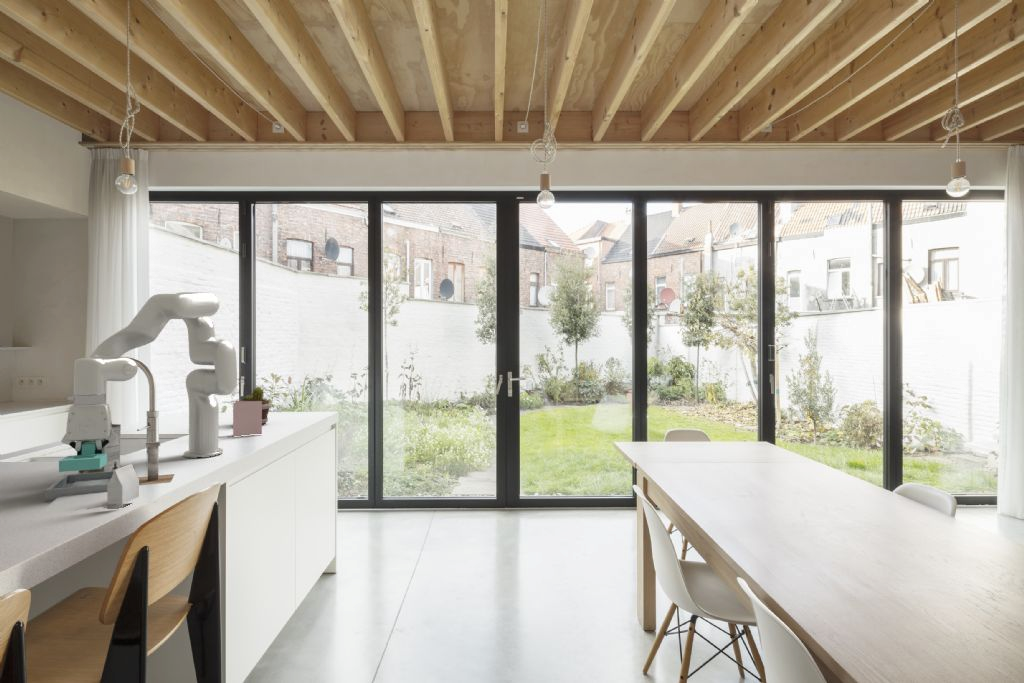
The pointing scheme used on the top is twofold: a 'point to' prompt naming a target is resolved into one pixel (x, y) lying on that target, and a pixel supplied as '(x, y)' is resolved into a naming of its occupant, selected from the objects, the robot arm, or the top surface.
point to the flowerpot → (259, 396)
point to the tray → (66, 481)
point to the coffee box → (109, 453)
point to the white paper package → (122, 487)
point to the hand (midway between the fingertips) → (89, 462)
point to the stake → (154, 467)
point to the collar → (84, 459)
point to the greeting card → (247, 418)
